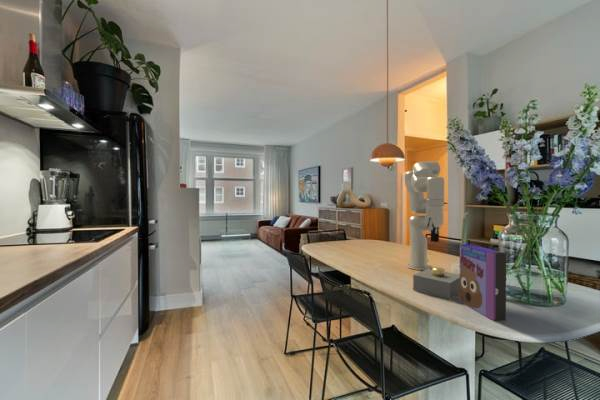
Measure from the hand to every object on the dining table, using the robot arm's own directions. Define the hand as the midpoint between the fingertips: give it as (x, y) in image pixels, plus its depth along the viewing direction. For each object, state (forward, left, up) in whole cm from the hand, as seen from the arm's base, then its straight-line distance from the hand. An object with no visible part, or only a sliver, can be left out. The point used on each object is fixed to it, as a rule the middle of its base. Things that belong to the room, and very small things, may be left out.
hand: (434, 241), depth 131 cm
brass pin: (+3, +3, -21) cm, 21 cm away
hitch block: (+3, +3, -22) cm, 22 cm away
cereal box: (+14, +23, -22) cm, 35 cm away
